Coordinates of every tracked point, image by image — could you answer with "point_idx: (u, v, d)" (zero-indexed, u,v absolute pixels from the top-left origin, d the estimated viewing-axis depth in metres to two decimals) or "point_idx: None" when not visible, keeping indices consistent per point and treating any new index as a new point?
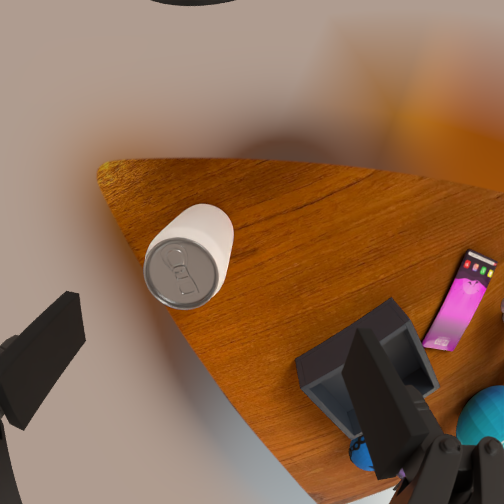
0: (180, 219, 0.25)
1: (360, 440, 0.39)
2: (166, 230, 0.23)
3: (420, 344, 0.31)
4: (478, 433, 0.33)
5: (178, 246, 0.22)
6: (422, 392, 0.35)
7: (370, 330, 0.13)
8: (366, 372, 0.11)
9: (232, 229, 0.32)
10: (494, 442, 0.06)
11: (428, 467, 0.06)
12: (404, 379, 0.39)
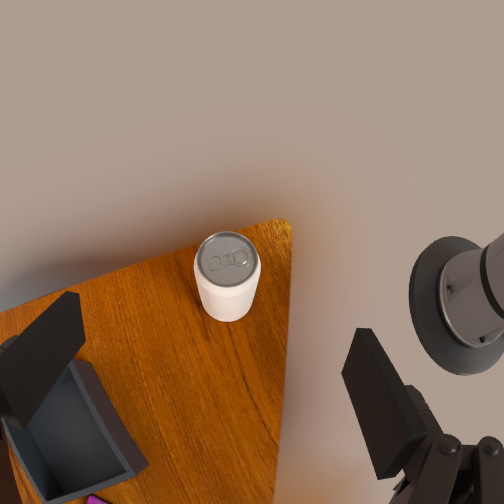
0: None
1: None
2: (258, 256, 0.30)
3: (105, 486, 0.23)
4: None
5: (249, 261, 0.29)
6: (40, 487, 0.21)
7: (370, 330, 0.13)
8: (366, 372, 0.11)
9: (231, 319, 0.37)
10: (494, 442, 0.06)
11: (428, 467, 0.06)
12: (51, 473, 0.25)
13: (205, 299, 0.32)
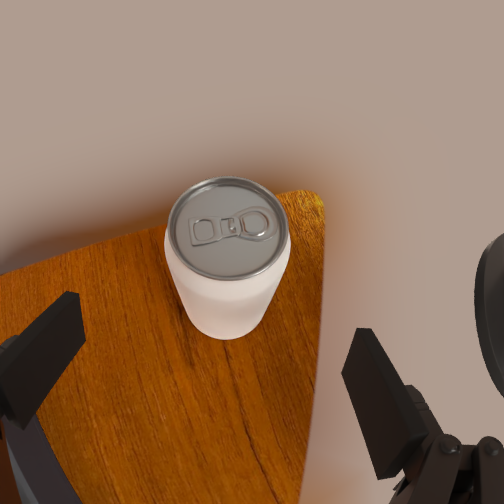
0: None
1: None
2: None
3: None
4: None
5: (272, 231, 0.15)
6: None
7: (370, 330, 0.13)
8: (366, 372, 0.11)
9: (230, 337, 0.22)
10: (494, 442, 0.06)
11: (428, 467, 0.06)
12: None
13: (185, 302, 0.18)
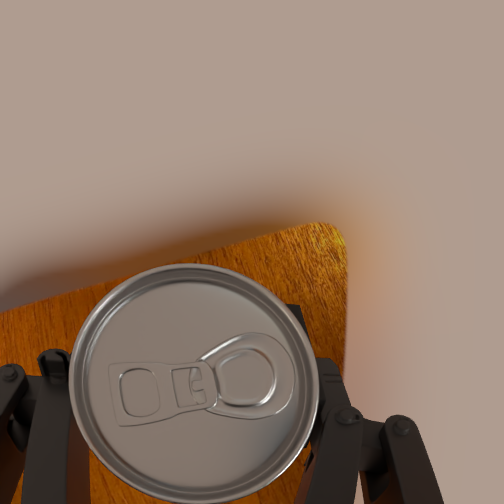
0: None
1: None
2: None
3: None
4: None
5: (283, 394, 0.06)
6: None
7: (298, 306, 0.15)
8: None
9: None
10: (404, 421, 0.08)
11: (326, 441, 0.07)
12: None
13: None
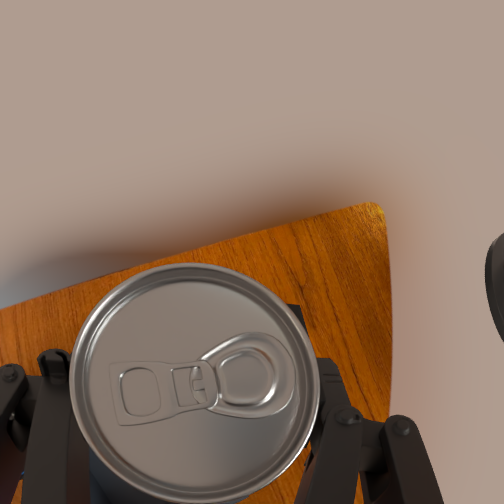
0: None
1: None
2: None
3: None
4: None
5: (284, 394, 0.06)
6: None
7: (297, 306, 0.15)
8: None
9: None
10: (403, 421, 0.08)
11: (326, 441, 0.07)
12: (108, 501, 0.21)
13: None
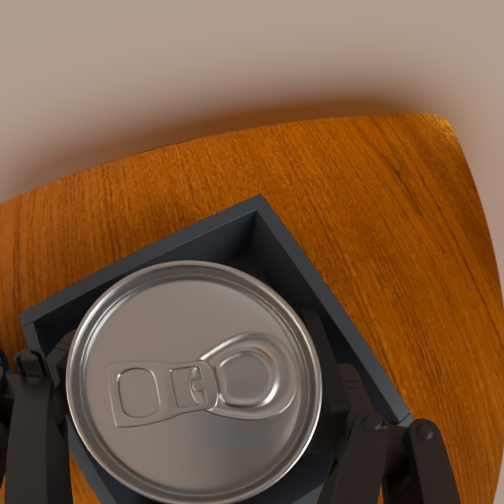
0: None
1: None
2: None
3: None
4: None
5: (285, 395, 0.06)
6: None
7: (314, 311, 0.15)
8: None
9: None
10: (427, 424, 0.08)
11: (352, 446, 0.07)
12: None
13: None
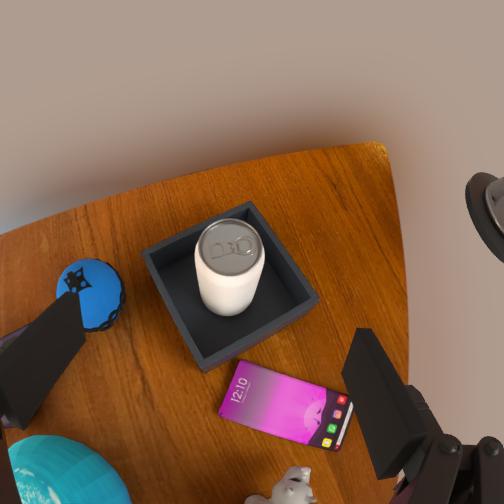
0: None
1: (117, 274, 0.34)
2: None
3: (287, 318, 0.32)
4: (75, 456, 0.20)
5: (253, 250, 0.27)
6: (195, 344, 0.30)
7: (370, 330, 0.13)
8: (366, 372, 0.11)
9: (230, 313, 0.35)
10: (494, 442, 0.06)
11: (428, 467, 0.06)
12: (193, 340, 0.34)
13: (204, 290, 0.30)
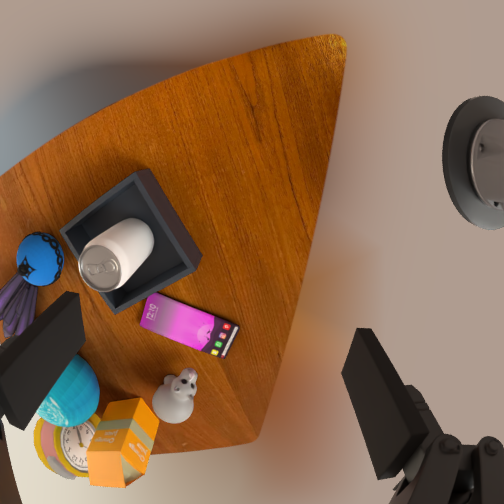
0: (136, 254, 0.36)
1: (52, 242, 0.40)
2: (127, 258, 0.33)
3: (168, 284, 0.40)
4: None
5: (116, 270, 0.32)
6: (109, 296, 0.41)
7: (370, 330, 0.13)
8: (367, 372, 0.11)
9: None
10: (494, 442, 0.06)
11: (428, 467, 0.06)
12: None
13: None
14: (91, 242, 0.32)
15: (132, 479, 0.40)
